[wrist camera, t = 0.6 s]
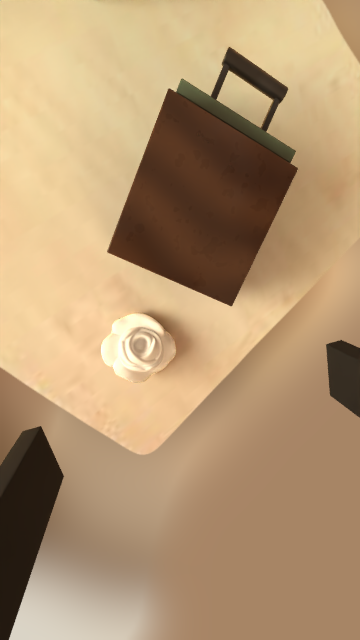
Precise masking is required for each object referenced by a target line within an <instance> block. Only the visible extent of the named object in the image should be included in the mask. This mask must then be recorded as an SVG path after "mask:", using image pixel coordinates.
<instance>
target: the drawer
mask: <svg viewBox="0 0 360 640" xmlns="http://www.w3.org/2000/svg"><path fill="white" fill-rule="evenodd" d="M222 66H223V68H222V70H221V72H220V75H219V77H218V80H217V82H216V85H215V87H214V90H213V92H212V95H211V97H210V96H209V95H207V94H206V93H204V92H203V91H201V90H199V89H198V88H196V87H195V86H193V85H192V84H190V83H188V82H187V81H185V80H184V79H181V81H180V83H179V86H178V89H177V91H176V93H178V94H179V95H181V96H182V97H184V98H186V99H187V100H189V101H191V102H192V103H194V104H195V105H197V106H199V107H200V108H202V109H203V110H205V111H207V112H208V113H210V114H211V115H213V116H215V117H216V118H218V119H220V120H221V121H223V122H224V123H226V124H228V125H229V126H231V127H232V128H234V129H236V130H237V131H239V132H240V133H242V134H244V135H245V136H247V137H248V138H250V139H252V140H253V141H255V142H257V143H258V144H260V145H261V146H263V147H265V148H266V149H268V150H269V151H271V152H273V153H274V154H276V155H277V156H279V157H281V158H282V159H284V160H286V161H287V162H289V163H291V161H292V159H293V157H294V155H295V152H296V151H295V150H293V149H292V148H290V147H289V146H287V145H286V144H284V143H282V142H281V141H279V140H278V139H276V138H275V137H273V136H271V135H270V134H268V133H267V132H266V131H267V129H268V127H269V124H270V122H271V120H272V118H273V116H274V113H275V111H276V109H277V107H278V104H280V103H281V102H282V100H283V99H284V97H285V95H286V93H287V91H288V87H286V86H285V85H283V84H282V83H281V82H279V81H278V80H276V79H275V78H273V77H272V76H271V75H269V74H268V73H266V72H265V71H263V70H262V69H261V68H259V67H258V66H256V65H255V64H253V63H252V62H251V61H249V60H248V59H246V58H245V57H243V56H242V55H241V54H239V53H238V52H236V51H235V50H234V49H232V48H231V47H229V48H228V50H227V52H226V54H225V57H224V59H223V62H222ZM228 70H229V71H231V72H232V73H234V74H235V75H237V76H238V77H240V78H241V79H243V80H244V81H246V82H247V83H249V84H250V85H252V86H253V87H255V88H256V89H258V90H259V91H260V92H262V93H263V94H265V95H266V96H268V97H269V98H271V99H272V100H273V101H272V104H271V106H270V108H269V110H268V113H267V115H266V117H265V119H264V122H263V124H262V126H261V128H259V127H257V126H256V125H254V124H253V123H251V122H250V121H248V120H246V119H245V118H243V117H242V116H240V115H239V114H237V113H235V112H234V111H232V110H231V109H229V108H228V107H226V106H224V105H223V104H221V103H220V102H218V101H217V100H216V99H217V97H218V94H219V92H220V89H221V87H222V84H223V82H224V80H225V77H226V75H227V72H228Z"/></svg>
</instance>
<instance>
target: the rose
mask: <svg viewBox="0 0 360 640" xmlns="http://www.w3.org/2000/svg"><path fill="white" fill-rule="evenodd" d="M101 354H102V358H103V360H104V362H105V363H106V364H107V365H108V366H111V367H113V368H114V371H115V373H116V374H117V375H118V376H120V377H121V378H124V379H127V380H129V381H130V382H134V383H138V382H143V381H146V380H147V379H148V378H149V377H150V376H151V375H152V374H154V373H156V372H159V371H161V370H162V369H164V368H165V367H166V366H167V365H168V362H170V361H171V360H172V359H173V358H174V356H175V354H176V347H175V341H174V339H173V337H172V336H171V335H170V334H169V333H168V332H167V331H165V330H164V328H163V326H162V325H161V324H160V323H159V322H158V321H157V320H155V319H154V318H152V317H150V316H148V315H146V314H142V313H134V314H130V315H128V316H125V317H122V318H119V319H117V320H116V321H115V322H114V323H113V326H112V333H111V334H110V335H109V336H107V337H106V338H105V339H104V341H103V343H102V346H101Z"/></svg>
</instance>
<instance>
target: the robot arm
mask: <svg viewBox="0 0 360 640" xmlns="http://www.w3.org/2000/svg"><path fill="white" fill-rule="evenodd" d="M326 347H327V361H328V373H329V374H328V375H329V388H330V395H331V396H332V397H333V398H334V399H336V400H337V401H338V402H340V403H341V404H342V405H344V406H345V407H346V408H348V409H349V410H350V411H352V412H353V413H354V414H356V415H357V416H358V417H360V348H358V347H356V346H354V345H351V344H349V343H347V342H344V341H342V340H340V341H337V342H333V343H329V344H327V345H326ZM63 477H64V476H63V473H62V471H61V469H60V467H59V465H58V463H57V461H56V458H55V456H54V454H53V451H52V449H51V447H50V445H49V443H48V441H47V438H46V436H45V434H44V432H43V430H42V427H41V426H40V427H37V428H33V429H29V430H26V431H23V432H22V433H21V435H20V437H19V438H18V439H17V441H16V443H15V444H14V446H13V447H12V449H11V450H10V452H9V453H8V455H7V456H6V458H5V460H4V461H3V463H2V464H1V466H0V640H9V637H10V634H11V631H12V628H13V625H14V622H15V619H16V616H17V614H18V611H19V608H20V605H21V602H22V599H23V596H24V593H25V590H26V587H27V584H28V581H29V578H30V575H31V572H32V569H33V566H34V563H35V560H36V557H37V554H38V551H39V548H40V545H41V542H42V539H43V536H44V533H45V530H46V527H47V524H48V521H49V518H50V515H51V513H52V509H53V507H54V504H55V501H56V498H57V495H58V492H59V489H60V486H61V483H62V480H63Z"/></svg>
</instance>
